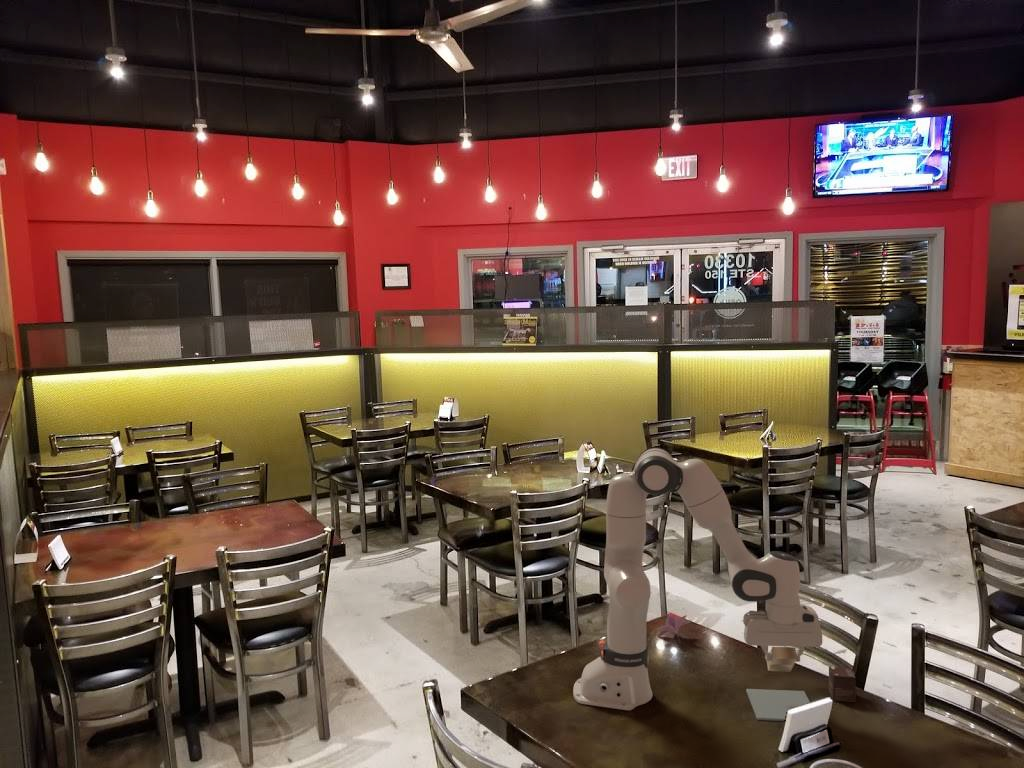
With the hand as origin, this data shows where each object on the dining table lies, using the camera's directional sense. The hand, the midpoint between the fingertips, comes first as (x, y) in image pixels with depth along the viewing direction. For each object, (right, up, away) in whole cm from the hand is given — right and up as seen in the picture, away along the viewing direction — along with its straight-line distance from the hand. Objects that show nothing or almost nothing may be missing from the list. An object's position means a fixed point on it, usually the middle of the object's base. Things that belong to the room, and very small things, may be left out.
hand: (782, 660), depth 206 cm
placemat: (0, -13, +1) cm, 13 cm away
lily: (-20, -10, +46) cm, 51 cm away
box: (+19, -13, +6) cm, 23 cm away
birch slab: (+1, -3, +5) cm, 6 cm away
